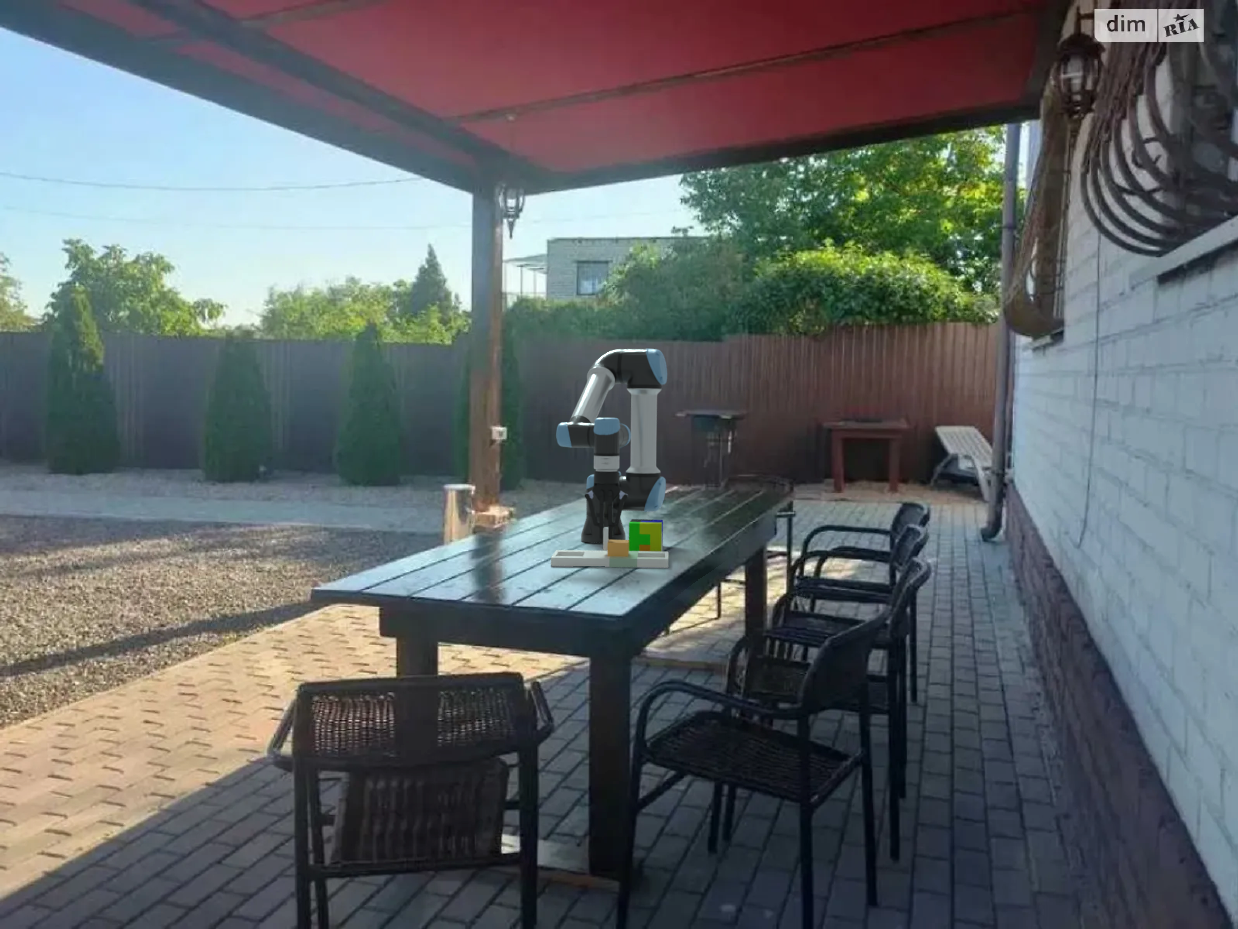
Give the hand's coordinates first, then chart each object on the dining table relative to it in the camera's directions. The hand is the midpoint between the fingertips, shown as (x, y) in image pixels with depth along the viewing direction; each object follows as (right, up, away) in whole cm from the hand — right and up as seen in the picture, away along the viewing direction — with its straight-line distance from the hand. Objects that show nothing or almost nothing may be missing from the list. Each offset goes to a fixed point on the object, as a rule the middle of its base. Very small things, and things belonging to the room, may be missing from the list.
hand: (605, 549), depth 298 cm
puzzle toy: (+12, -3, +20) cm, 23 cm away
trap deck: (+1, -4, 0) cm, 4 cm away
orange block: (+4, -2, 0) cm, 4 cm away
